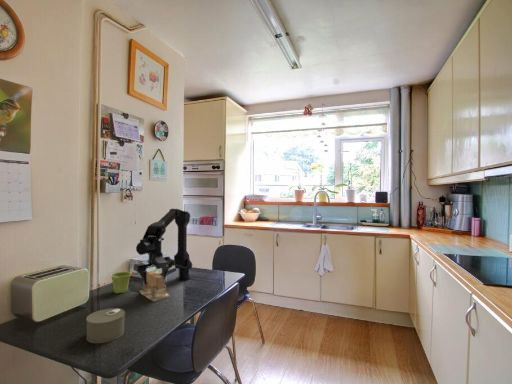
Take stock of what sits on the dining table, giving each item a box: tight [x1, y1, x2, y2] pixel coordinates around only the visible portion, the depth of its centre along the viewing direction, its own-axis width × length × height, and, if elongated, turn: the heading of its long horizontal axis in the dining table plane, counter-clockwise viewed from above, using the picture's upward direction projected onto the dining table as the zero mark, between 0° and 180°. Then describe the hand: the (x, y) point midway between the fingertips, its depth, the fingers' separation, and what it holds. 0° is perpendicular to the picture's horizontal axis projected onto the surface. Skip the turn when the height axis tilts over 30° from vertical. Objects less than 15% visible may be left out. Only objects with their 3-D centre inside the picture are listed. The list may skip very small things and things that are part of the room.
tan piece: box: [139, 281, 170, 302], centre depth 133 cm, size 15×8×6 cm, turn 46°
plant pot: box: [110, 271, 132, 294], centre depth 137 cm, size 9×9×9 cm
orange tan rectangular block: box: [146, 270, 165, 290], centre depth 133 cm, size 13×3×6 cm, turn 46°
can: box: [85, 307, 126, 344], centre depth 96 cm, size 12×12×7 cm
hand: (154, 282), depth 133 cm, fingers open, 9 cm apart
